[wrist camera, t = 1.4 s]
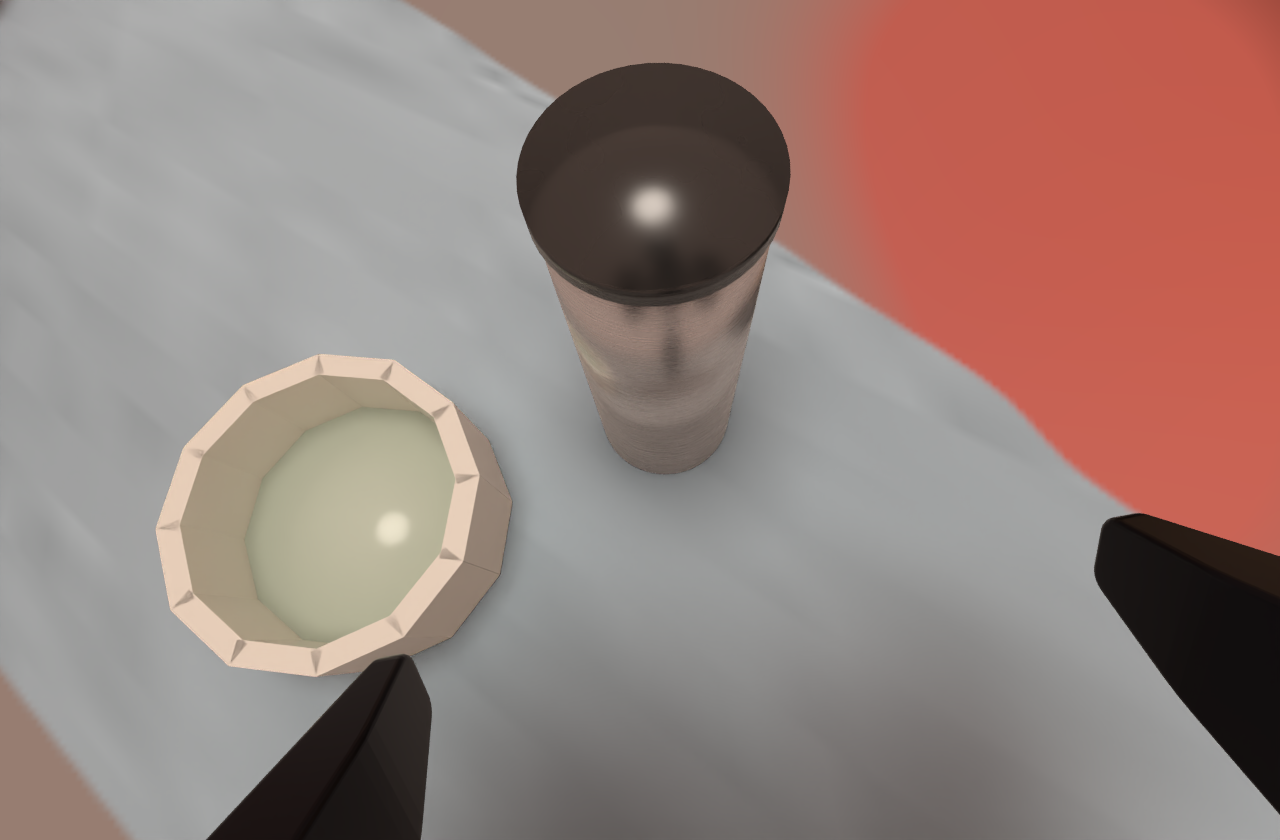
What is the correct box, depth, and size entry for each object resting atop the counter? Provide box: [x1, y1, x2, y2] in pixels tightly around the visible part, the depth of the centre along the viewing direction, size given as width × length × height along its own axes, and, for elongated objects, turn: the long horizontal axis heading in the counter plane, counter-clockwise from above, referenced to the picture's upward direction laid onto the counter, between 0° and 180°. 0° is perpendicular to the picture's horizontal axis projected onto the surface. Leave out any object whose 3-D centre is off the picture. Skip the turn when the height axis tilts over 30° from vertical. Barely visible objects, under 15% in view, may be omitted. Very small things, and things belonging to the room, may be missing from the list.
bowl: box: [156, 354, 512, 677], centre depth 21 cm, size 9×9×4 cm
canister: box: [516, 63, 790, 474], centre depth 17 cm, size 5×5×13 cm
